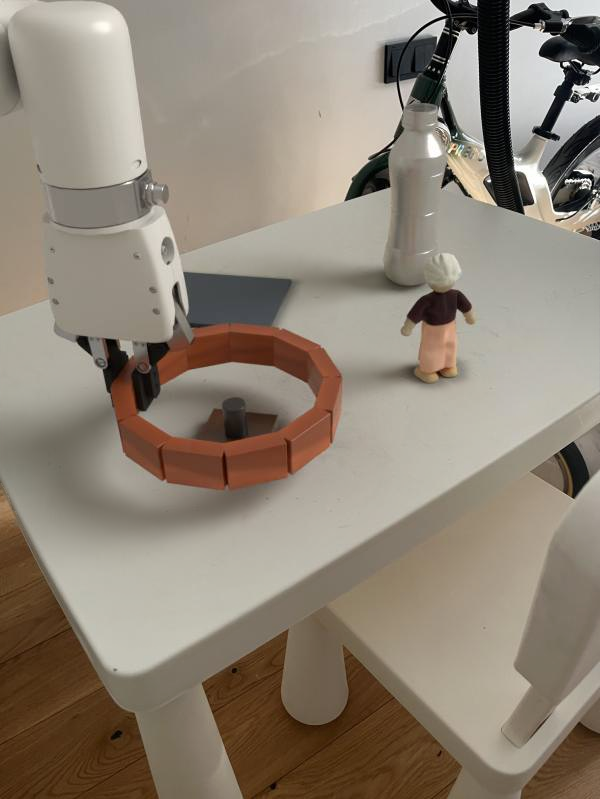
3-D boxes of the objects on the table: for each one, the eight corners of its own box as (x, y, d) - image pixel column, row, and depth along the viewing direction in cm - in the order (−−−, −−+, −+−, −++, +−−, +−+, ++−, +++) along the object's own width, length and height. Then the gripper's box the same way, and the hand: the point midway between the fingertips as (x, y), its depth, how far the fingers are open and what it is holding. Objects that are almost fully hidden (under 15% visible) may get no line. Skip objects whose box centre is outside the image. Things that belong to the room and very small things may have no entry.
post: (194, 463, 63) (188, 421, 60) (215, 420, 68) (210, 380, 65) (262, 471, 62) (259, 429, 59) (278, 427, 66) (276, 387, 64)
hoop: (81, 471, 57) (72, 437, 55) (165, 345, 72) (160, 315, 70) (316, 504, 54) (316, 469, 52) (353, 365, 68) (354, 334, 66)
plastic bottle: (372, 284, 88) (378, 111, 77) (398, 262, 93) (407, 96, 81) (421, 297, 85) (434, 119, 74) (445, 274, 90) (462, 103, 78)
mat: (147, 323, 83) (146, 319, 82) (182, 275, 92) (182, 271, 92) (267, 333, 80) (267, 329, 80) (291, 282, 89) (291, 279, 89)
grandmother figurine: (449, 353, 76) (461, 237, 68) (474, 370, 73) (490, 252, 65) (389, 376, 73) (394, 258, 65) (413, 395, 70) (422, 274, 62)
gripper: (217, 184, 55) (234, 386, 66) (25, 172, 58) (72, 367, 68) (184, 224, 49) (208, 438, 60) (-28, 208, 52) (32, 416, 63)
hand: (135, 399), depth 64 cm, fingers closed on hoop, 1 cm apart
